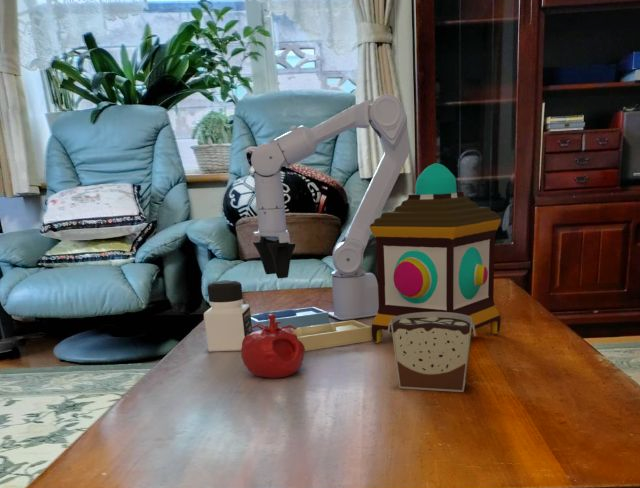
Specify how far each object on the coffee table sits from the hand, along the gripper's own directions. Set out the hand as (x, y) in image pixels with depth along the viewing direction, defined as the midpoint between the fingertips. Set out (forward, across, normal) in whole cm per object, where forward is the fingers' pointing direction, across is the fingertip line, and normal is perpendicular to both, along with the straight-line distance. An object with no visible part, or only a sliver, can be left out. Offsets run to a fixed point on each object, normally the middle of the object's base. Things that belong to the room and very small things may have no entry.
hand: (276, 275), depth 144 cm
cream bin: (+9, +26, 0) cm, 27 cm away
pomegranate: (+10, +40, -15) cm, 44 cm away
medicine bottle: (+10, +18, -16) cm, 26 cm away
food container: (+10, +59, +3) cm, 60 cm away
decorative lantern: (+10, +35, +18) cm, 41 cm away
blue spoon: (+9, +8, -1) cm, 12 cm away
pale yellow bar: (+9, +26, 0) cm, 27 cm away
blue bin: (+9, +8, -1) cm, 12 cm away
